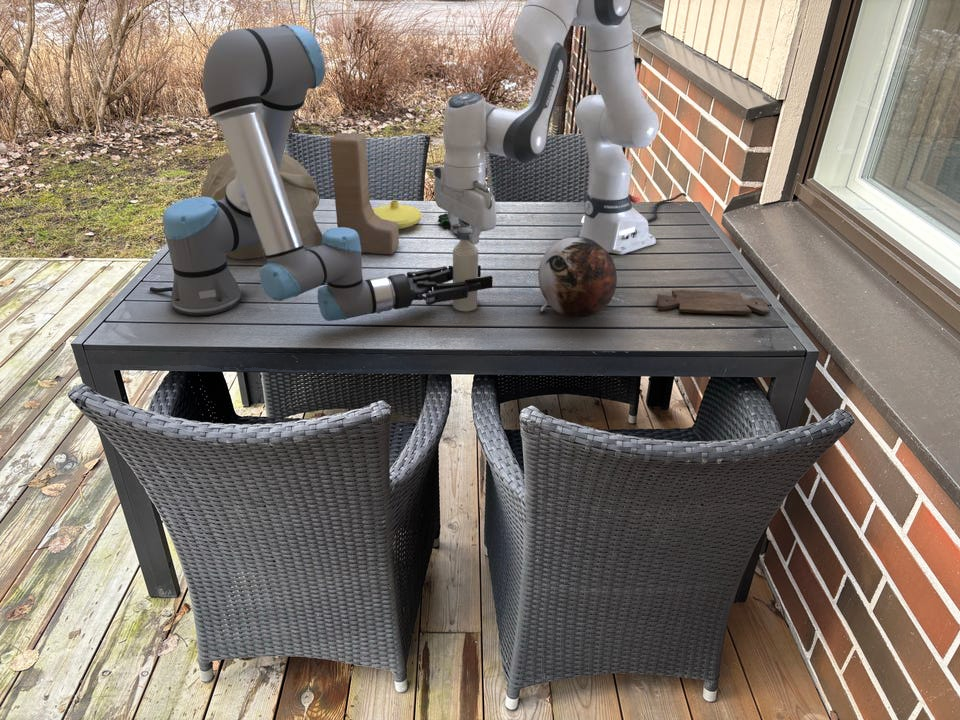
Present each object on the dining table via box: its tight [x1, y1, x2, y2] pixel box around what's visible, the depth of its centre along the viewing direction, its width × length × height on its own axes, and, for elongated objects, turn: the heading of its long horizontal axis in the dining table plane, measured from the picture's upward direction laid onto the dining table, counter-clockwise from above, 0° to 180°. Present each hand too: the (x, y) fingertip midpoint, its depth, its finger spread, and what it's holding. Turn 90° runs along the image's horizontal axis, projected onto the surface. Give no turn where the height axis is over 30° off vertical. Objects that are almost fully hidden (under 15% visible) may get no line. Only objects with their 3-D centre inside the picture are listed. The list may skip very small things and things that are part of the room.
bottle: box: [452, 239, 479, 312], centre depth 162 cm, size 6×6×18 cm
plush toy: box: [537, 236, 618, 319], centre depth 161 cm, size 22×18×20 cm
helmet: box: [200, 133, 323, 260], centre depth 189 cm, size 27×30×30 cm
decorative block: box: [329, 132, 400, 255], centre depth 188 cm, size 8×15×30 cm, turn 82°
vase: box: [372, 199, 423, 230], centre depth 210 cm, size 16×16×7 cm
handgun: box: [437, 213, 471, 237], centre depth 211 cm, size 16×3×15 cm
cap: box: [456, 226, 472, 240], centre depth 158 cm, size 4×4×2 cm
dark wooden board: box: [656, 289, 771, 316], centre depth 168 cm, size 26×2×10 cm
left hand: (485, 276), depth 165 cm, fingers closed on bottle, 6 cm apart
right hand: (464, 237), depth 158 cm, fingers open, 6 cm apart
